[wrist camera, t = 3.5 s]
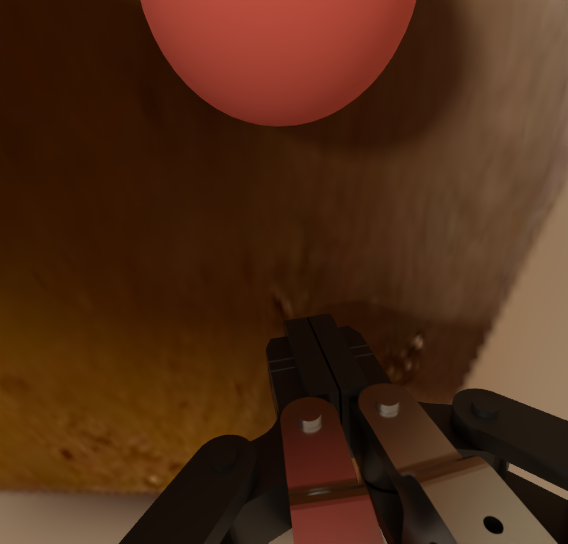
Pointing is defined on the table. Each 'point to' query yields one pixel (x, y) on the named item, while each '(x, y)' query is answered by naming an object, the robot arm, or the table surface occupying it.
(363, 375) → the robot arm
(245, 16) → the ball
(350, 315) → the table surface
